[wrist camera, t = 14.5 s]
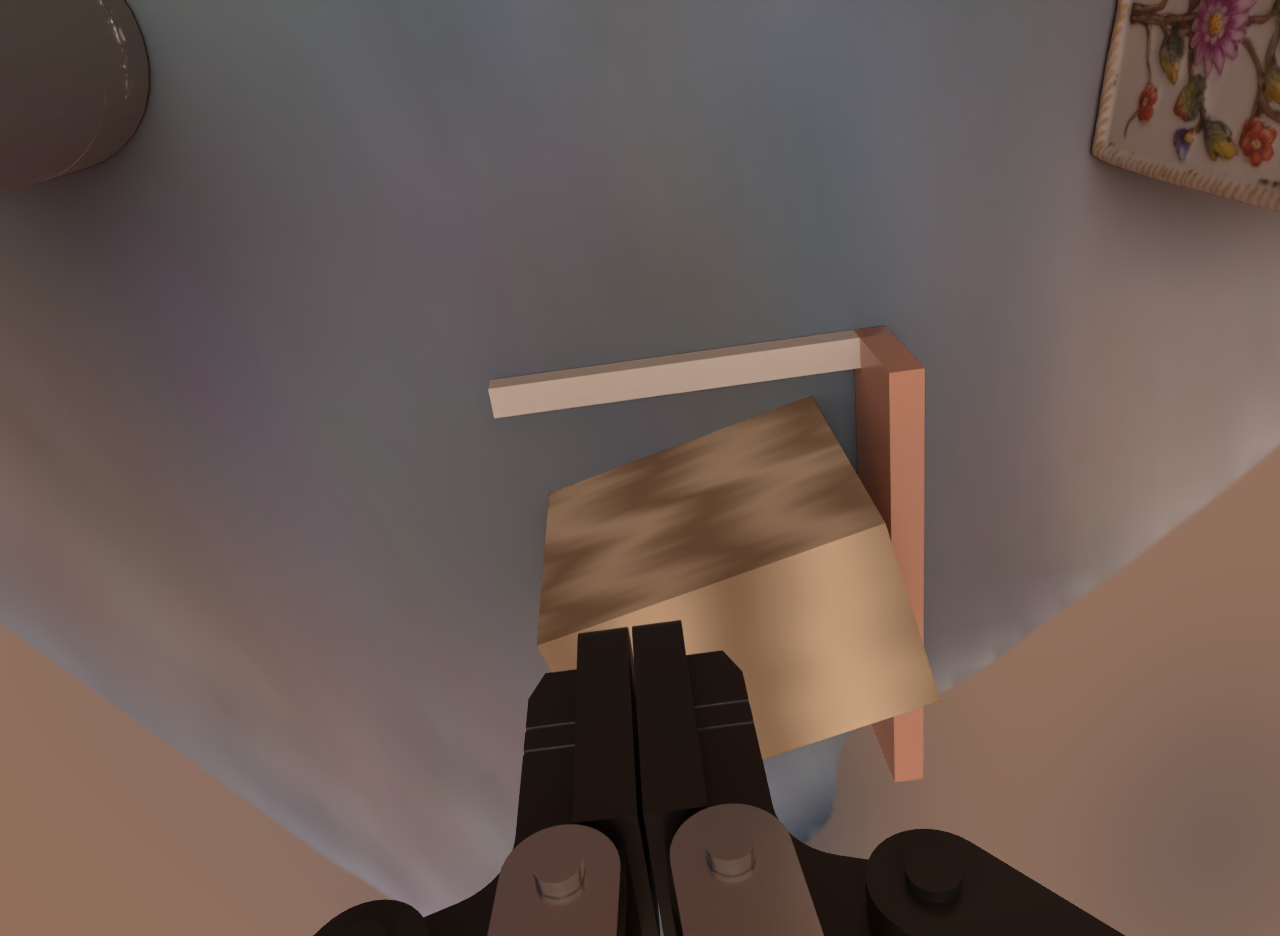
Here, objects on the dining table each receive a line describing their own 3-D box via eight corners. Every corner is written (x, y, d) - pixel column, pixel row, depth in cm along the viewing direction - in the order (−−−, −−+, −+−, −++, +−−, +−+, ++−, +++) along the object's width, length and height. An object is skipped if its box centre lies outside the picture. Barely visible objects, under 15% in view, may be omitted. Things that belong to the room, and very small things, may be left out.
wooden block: (614, 627, 52) (622, 805, 40) (549, 492, 48) (536, 645, 37) (859, 541, 51) (940, 701, 39) (810, 395, 47) (885, 523, 35)
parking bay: (567, 746, 55) (565, 825, 50) (490, 380, 45) (477, 429, 40) (890, 703, 55) (923, 778, 50) (884, 325, 45) (924, 368, 40)
